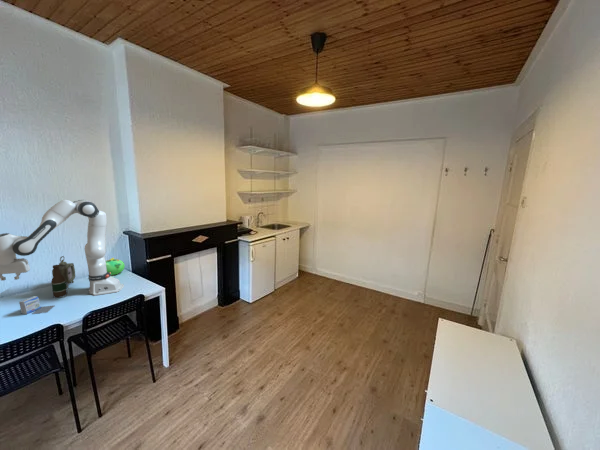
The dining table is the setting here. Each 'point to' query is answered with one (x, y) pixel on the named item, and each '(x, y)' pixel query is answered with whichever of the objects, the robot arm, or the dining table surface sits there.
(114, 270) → the toy bird
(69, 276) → the old metal lantern
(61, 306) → the dining table surface
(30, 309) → the medicine box
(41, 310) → the mat
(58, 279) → the beer bottle
